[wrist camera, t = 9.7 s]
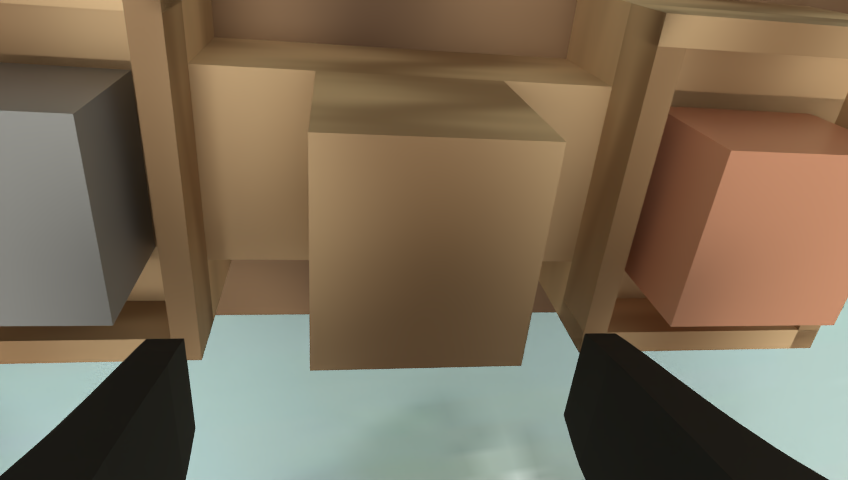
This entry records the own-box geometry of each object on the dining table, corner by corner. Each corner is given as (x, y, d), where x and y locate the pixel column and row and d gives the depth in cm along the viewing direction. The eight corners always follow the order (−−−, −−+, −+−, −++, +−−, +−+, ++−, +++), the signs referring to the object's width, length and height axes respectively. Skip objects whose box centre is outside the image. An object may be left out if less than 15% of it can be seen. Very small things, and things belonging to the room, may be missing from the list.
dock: (836, -74, 18) (907, -72, 15) (711, 273, 23) (750, 310, 21) (-169, -180, 14) (-266, -198, 11) (-27, 271, 19) (-74, 317, 17)
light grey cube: (131, 69, 12) (72, 113, 9) (155, 246, 14) (113, 325, 11) (-98, 56, 11) (-230, 100, 9) (-39, 244, 13) (-134, 326, 10)
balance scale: (807, 6, 16) (1098, 61, 10) (715, 262, 20) (885, 416, 14) (-112, -69, 13) (-527, -53, 7) (-14, 258, 16) (-221, 461, 10)
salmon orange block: (809, 113, 14) (917, 157, 12) (752, 258, 16) (833, 324, 13) (654, 105, 14) (731, 150, 11) (613, 257, 15) (670, 326, 13)
